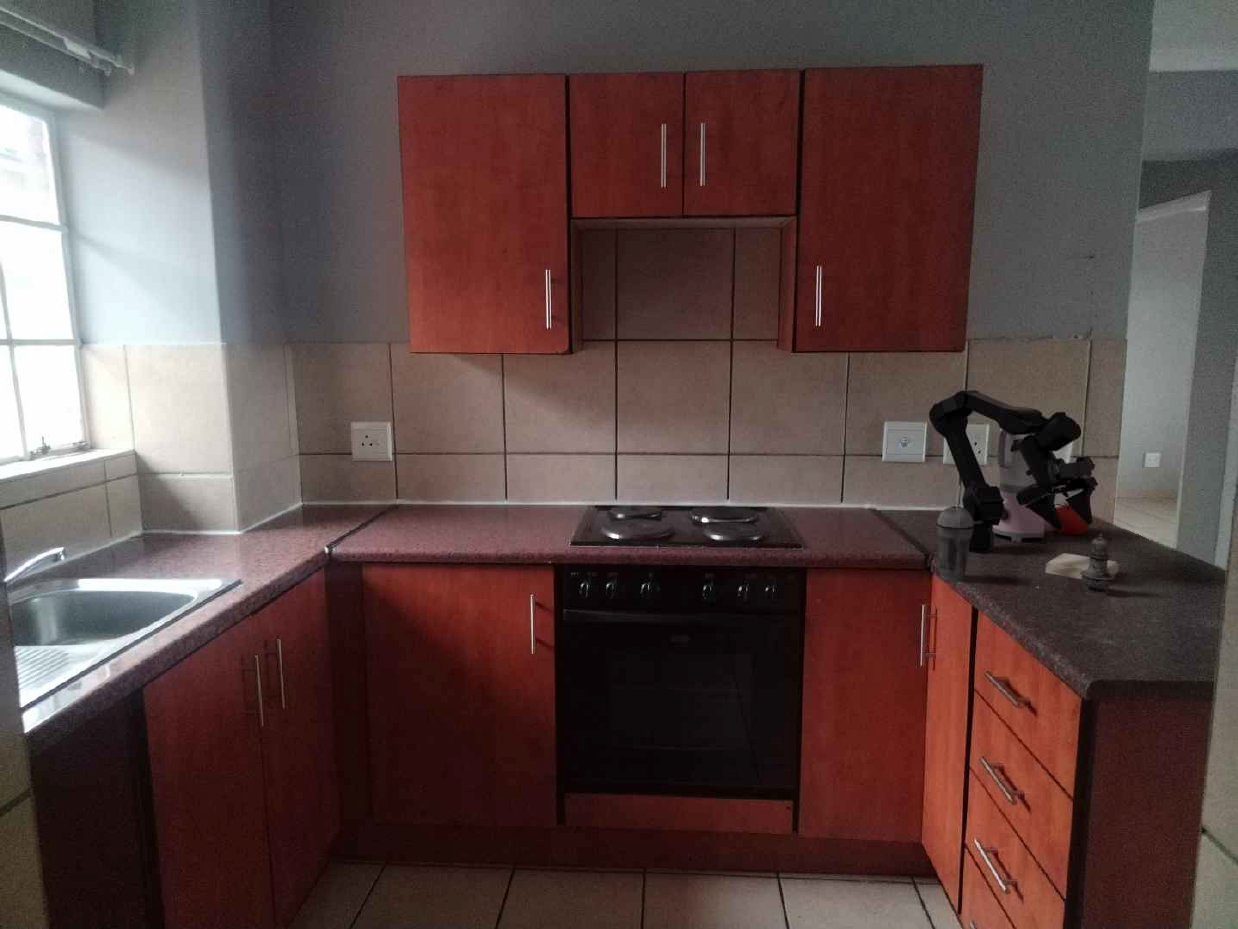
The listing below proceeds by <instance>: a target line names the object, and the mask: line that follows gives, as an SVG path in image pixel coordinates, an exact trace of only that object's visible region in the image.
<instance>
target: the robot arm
mask: <svg viewBox="0 0 1238 929" xmlns="http://www.w3.org/2000/svg"><path fill="white" fill-rule="evenodd" d="M973 413H977V414H980V415H981V416H984V417H986V418H988V419H990V420H992V421H994V422H996V423H997V425H998V427H999V428H1000V429H1003V430H1004V431H1005V432H1007V433H1008V434H1010V435H1028V436H1026V437H1024V438H1023V439H1017V440H1013V445H1012V446H1011V449H1010V451H1011V452H1016V451H1020V453H1021V455H1022V457H1023V459H1024V461H1025V462H1026V464H1027V466H1028V468H1029V470H1028V471H1026V474H1027V476H1030V475H1032V476H1033V478H1034V480H1035V482H1036V483H1034V484H1032V485H1030V486H1028V487H1026V488H1024V489H1022V490H1020V491H1019V492H1017V495H1016V499H1017V501H1018V503H1019V505H1020V506H1021V505H1026V506H1025V508H1029V509H1030V510H1032V511H1033V512H1035V513H1036V514H1038V515H1039V516H1040V517H1042V518H1043V519H1044V520H1045V521H1046V522H1047V523H1048V524H1049V523H1050V524H1051V525H1052V526H1054V527H1055V528H1056V529H1058V530H1062V529H1064V527H1063V524H1062V521H1061V519H1060V517H1059V514H1058V512H1057V510H1056V506H1055V505H1056V504H1055V499H1056V495H1059V494H1062V495H1063V497H1065V499H1064V501H1065V503H1066V504H1067V505H1068V504H1069V505H1070V506H1071V507H1072V508H1073V510H1074V511H1075V512H1076V513H1077V514H1078V515H1079V516H1080V517H1081V519H1082V520H1083V521H1084V522H1085V523H1086V524H1088V525H1089V524H1090V525H1091V524H1093V523H1094V522H1093V513H1092V507H1091V497H1092V494H1093V492H1094V491H1096V487H1098V486H1099V483H1098V482H1097V480H1096V478H1095V476H1093V473H1092V471H1093V470H1095V468H1096V464H1095V463H1094V462H1093V460H1092V459H1091V457H1090V456H1089V455H1086V456H1078V457H1076V459H1075V461H1074V462H1066V461H1065V459H1063V458H1062V457H1058V458H1057V456H1056V455H1055V453H1054V452H1058V451H1061V449H1063V448H1064V447H1067V446H1068V445H1070V444H1071V443H1073V442H1075V441H1076V440H1078V439H1080V437H1081V436H1082V428H1081V426H1080V424H1078V422H1076V420H1074V419H1073V418H1071V417H1069V416H1068V415H1067V414H1066V411H1056V412H1055V413H1053V414H1052V415H1051V416H1049V417H1045V415H1043V413H1042V411H1041V410H1039V409H1037V408H1033V407H1027V406H1026V407H1024V406H1023V407H1022V406H1014V405H1010V404H1007V403H1005V402H1003V401H1001V400H998V399H996V398H993V397H991V396H989V395H986V394H983V393H981V392H980V391H978V390H976V389H965V390H964V389H963V390H960V391H958V392H956V393H954V395H951V396H950V397H948V398H945V399H943V400H940V401H939V402H937V403H935V404H933V405H932V406H931V408H930V409H929V412H928V418H929V421H930V423H931V424H932V426H933V428H934V430H935V431H936V432H937V433H938V434H940V435H941V436H942V437H943V438H945V441H946V444H947V446H948V448H949V451H950V454H951V456H952V460H953V462H954V465H955V467H956V469H957V472H958V474H959V477H960V478H959V479H960V480H961V483H962V485H963V488H964V491H963V496H962V499H961V500H962V501H961V502H962V508H964V509H966V510H967V511H968V512H969V513H970V515H971V517H972V519H973V525H974V528H973V533H972V536H971V538H970V545H969V551H968V552H975V553H979V552H981V554H986V553H988V552H991V551H993V550H994V549H995V537H996V535H995V533H994V532H993V525H999V523H1000V520H1001V517H1002V515H1003V512H1004V510H1005V508H1004V504H1003V502H1004V499H1003V498H1002V496H1001V494H1000V490H999V486H997V485H993V486H991V485H990V484H989V483H987V481H986V479H985V476H984V473H983V471H982V469H981V466H980V464H979V461H978V459H977V456H976V454H975V451H974V449H973V446H972V444H971V442H970V439H969V437H968V434H967V427H968V424H969V418H968V417H969V416H971V415H972V414H973ZM1032 434H1035V435H1032ZM1029 503H1030V504H1029ZM1027 504H1028V505H1027Z"/></svg>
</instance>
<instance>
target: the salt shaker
mask: <svg viewBox="0 0 1238 929" xmlns="http://www.w3.org/2000/svg"><path fill="white" fill-rule="evenodd" d="M1090 545H1091V547H1090V553H1088V556H1087V557H1090V562H1089V567H1088V569H1087V570H1086V571H1081V572H1080V574H1081V575H1082V579H1081V580H1082V582H1083V583H1084V585H1086V586H1083V587H1081V588H1080V592H1082V593H1083V594H1085V595H1086V594H1087V595H1090V596H1096V597H1109V596H1112V592H1111V591H1109V590H1108V589H1107V588H1109V587H1110V586H1111V585H1112V584H1113V580H1114V579H1115V576H1116V575H1114V576H1113V575H1111V574H1109V573H1108V570H1107V563H1108V560H1110V558H1111V557H1110V556H1109V546H1110V545H1109V541H1108V540H1107V539H1105V538H1104V537H1103V534H1102V533H1100V534H1099V535H1098V537H1097V538H1093V539H1092V540H1091V544H1090Z"/></svg>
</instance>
